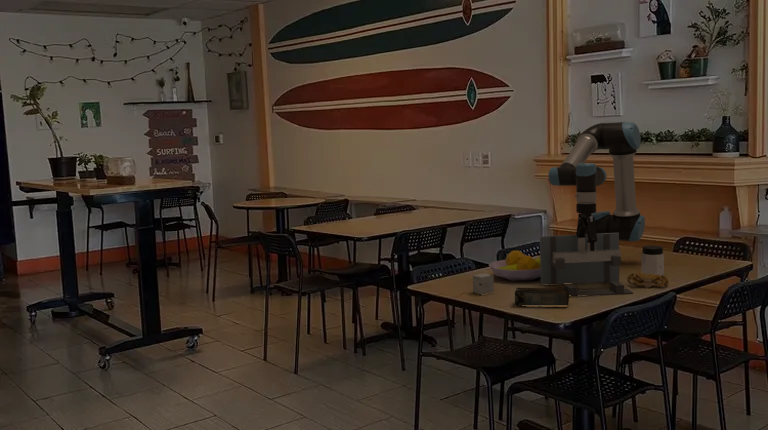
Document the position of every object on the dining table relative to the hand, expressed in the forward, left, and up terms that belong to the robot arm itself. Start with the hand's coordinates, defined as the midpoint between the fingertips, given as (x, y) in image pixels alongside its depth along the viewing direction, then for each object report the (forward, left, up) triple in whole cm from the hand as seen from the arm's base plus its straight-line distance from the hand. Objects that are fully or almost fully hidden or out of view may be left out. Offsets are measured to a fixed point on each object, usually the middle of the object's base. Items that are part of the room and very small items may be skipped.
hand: (586, 256), depth 302 cm
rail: (-1, 0, -2) cm, 2 cm away
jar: (-19, +33, -13) cm, 40 cm away
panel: (-4, 0, -13) cm, 14 cm away
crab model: (-1, +24, -13) cm, 28 cm away
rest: (+8, 0, -13) cm, 15 cm away
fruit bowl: (-27, -20, -13) cm, 36 cm away
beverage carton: (+22, -23, -13) cm, 34 cm away
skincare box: (-2, -41, -13) cm, 43 cm away
